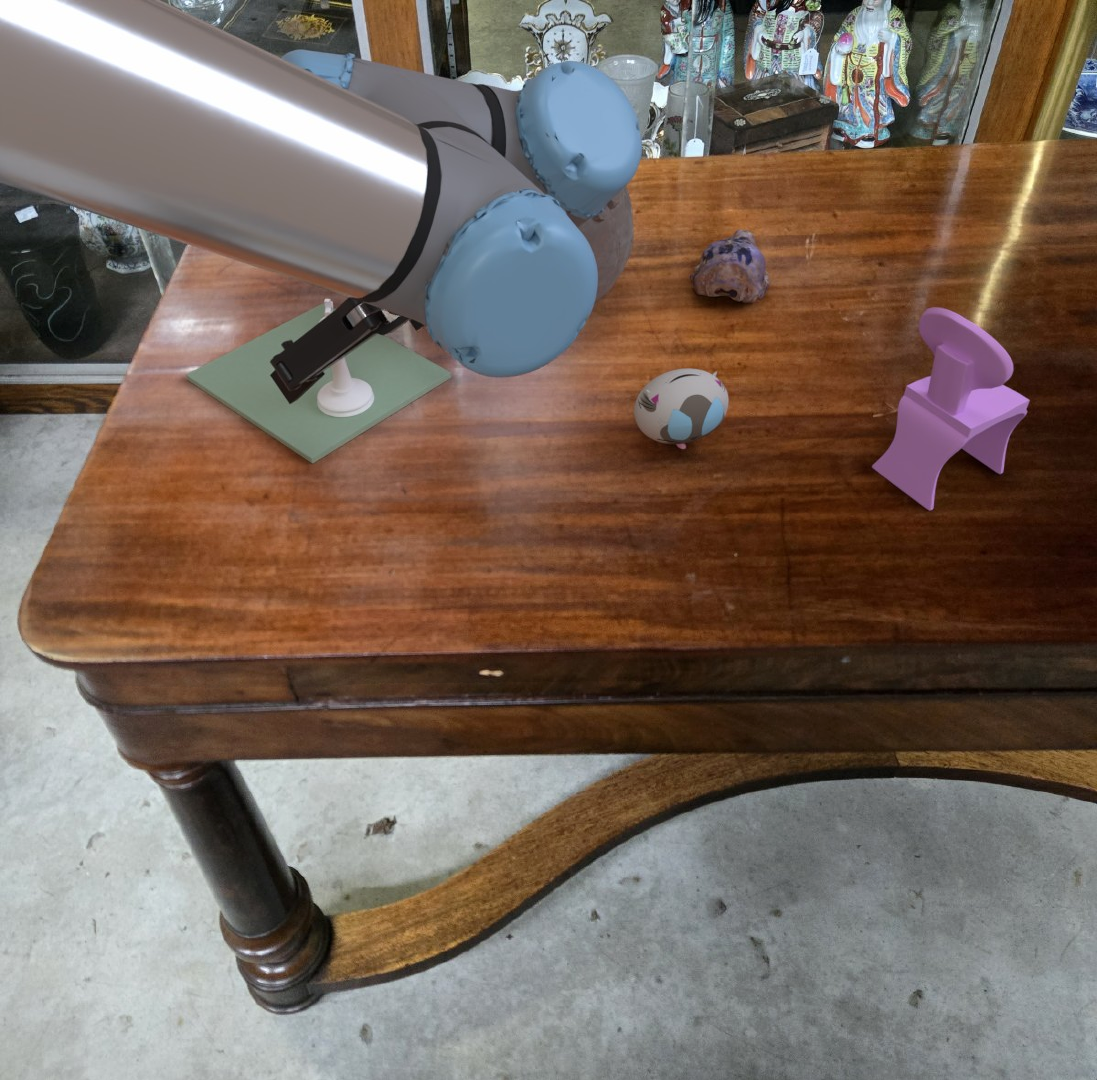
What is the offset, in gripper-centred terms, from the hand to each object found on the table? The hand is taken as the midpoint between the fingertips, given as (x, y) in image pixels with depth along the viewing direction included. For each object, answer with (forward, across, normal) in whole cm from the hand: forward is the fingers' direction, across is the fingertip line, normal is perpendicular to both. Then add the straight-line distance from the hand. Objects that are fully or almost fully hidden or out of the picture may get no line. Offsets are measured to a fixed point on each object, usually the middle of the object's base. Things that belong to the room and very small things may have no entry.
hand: (349, 350), depth 85 cm
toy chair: (-24, +26, -34) cm, 49 cm away
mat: (+10, +1, 0) cm, 10 cm away
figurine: (-11, +15, -21) cm, 28 cm away
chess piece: (+6, 0, -3) cm, 7 cm away
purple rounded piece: (-4, +39, -14) cm, 41 cm away
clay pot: (+6, +23, -4) cm, 24 cm away
